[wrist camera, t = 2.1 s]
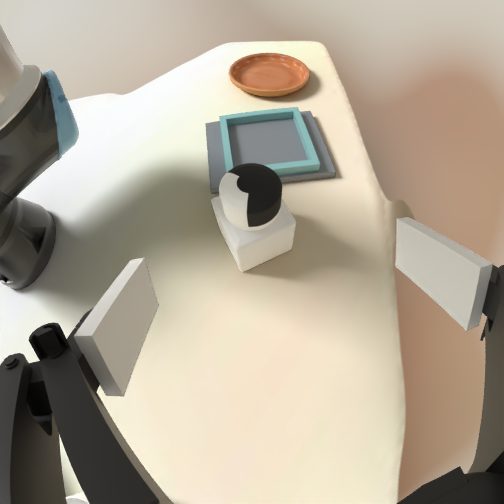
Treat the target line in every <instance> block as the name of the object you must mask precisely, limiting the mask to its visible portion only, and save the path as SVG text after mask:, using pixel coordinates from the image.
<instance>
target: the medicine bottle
mask: <svg viewBox="0 0 504 504" xmlns="http://www.w3.org/2000/svg"><path fill="white" fill-rule="evenodd" d="M219 194H220V195H219V196H217V197H214V198H212V200H211V203H212V206H213V209H214V213H215V216H216V219H217V222H218V226H219V229H220V231H221V233H222V235H223V237H224V239H225V241H226V243H227V245H228V247H229V249H230V251H231V253H232V255H233V257H234V259H235V261H236V263H237V265H238V267H239V269H240V271H241V272H245V271H247V270H249V269H251V268H253V267H255V266H257V265H260V264H262V263H264V262H266V261H268V260H270V259H272V258H274V257H277V256H279V255H281V254H283V253H285V252H287V251H289V250H291V249H292V244H293V239H294V233H295V228H296V220H295V219H294V217H293V216H292V214H291V212H290V211H289V209H288V208H287V206H286V205H285V203H284V201H283V200H282V198H281V197H282V183H281V180H280V178H279V176H278V175H277V173H276V172H275V171H273V170H272V169H271V168H269V167H267V166H265V165H261V164H257V163H246V164H241V165H238V166H236V167H234V168H232V169H231V170H229V171H228V172H227V173H226V174H225V175H224V176H223V178H222V180H221V182H220V185H219Z"/></svg>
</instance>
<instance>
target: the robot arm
mask: <svg viewBox="0 0 504 504" xmlns="http://www.w3.org/2000/svg"><path fill="white" fill-rule="evenodd" d="M78 136H79V130H78V127H77V124H76V121H75V118H74V115H73V113H72V110H71V108H70V105H69V103H68V101H67V99H66V98H65V94H64V92H63V89H62V86H61V84H60V82H59V80H58V78H57V76H56V74H55V72H54V71H52V70H51V71H48V72H44V73H43V74H42V73H41V71H40V69H39V68H38V67H37V66H35V65H22V64H21V62H20V60H19V58H18V57H17V55H16V53H15V51H14V50H13V48H12V46H11V44H10V42H9V41H8V39H7V37H6V35H5V33H4V31H3V30H2V28H1V26H0V282H1V283H3V284H5V285H6V286H8V287H10V288H13V289H21V288H24V287H26V286H28V285H29V284H31V283H32V282H33V281H34V280H35V279H36V278H37V277H38V276H39V275H40V273H41V272H42V271H43V269H44V267H45V266H46V264H47V262H48V260H49V257H50V255H51V252H52V249H53V246H54V241H55V224H54V220H53V218H52V216H51V215H50V213H48V212H47V211H46V210H45V209H44V208H43V207H42V206H40V205H38V204H35V203H33V202H30V201H27V200H24V199H21V198H19V197H16V196H17V195H18V194H19V193H20V192H21V191H22V190H23V189H25V188H26V187H27V186H28V185H29V184H30V183H31V182H32V181H33V180H34V179H36V178H37V177H38V176H39V175H40V174H41V173H42V172H44V171H45V170H46V169H47V168H48V167H50V166H51V165H52V164H53V163H54V162H56V161H57V160H59V159H60V158H61V157H62V155H63V154H64V153H65V152H67V151H68V150H69V149H70V148H71V147H72V146H74V145H75V143H76V141H77V139H78ZM395 266H396V267H397V268H398V269H399V270H400V271H401V272H403V273H404V274H405V275H406V276H407V277H409V278H410V279H411V280H412V281H413V282H414V283H415V284H416V285H418V286H419V287H420V288H421V289H422V290H423V291H424V292H425V293H427V294H428V295H429V296H430V297H431V298H432V299H433V300H434V301H436V303H437V304H439V305H440V306H441V307H442V308H443V309H444V310H445V311H446V312H447V313H448V314H449V315H450V316H451V317H452V318H454V319H455V321H457V322H458V323H459V324H460V325H461V326H462V327H463V328H464V329H465V330H466V331H467V330H470V329H472V328H474V327H476V326H478V325H479V322H480V319H481V315H482V313H484V314H485V315H486V316H487V320H486V323H485V327H484V330H483V333H482V336H481V341H482V340H483V338H484V337H485V339H486V365H485V366H486V367H485V388H484V402H483V411H482V419H481V427H480V433H479V439H478V445H477V450H476V455H475V459H474V462H473V464H472V466H471V468H470V470H469V472H468V473H467V474H464V473H463V471H462V469H461V468H460V467H458V468H456V469H454V470H452V471H450V472H449V473H447V474H445V475H443V476H441V477H439V478H437V479H435V480H433V481H431V482H429V483H426V484H424V485H422V486H421V487H420V488H418V489H417V490H416V491H414V492H413V493H412V494H410V495H409V496H407V497H406V498H404V499H403V500H401V501H400V502H398V503H397V504H504V265H502V266H500V267H499V268H497V267H496V266H494V265H493V264H492V263H491V262H489V261H487V260H486V259H484V258H482V257H481V256H479V255H477V254H476V253H474V252H472V251H471V250H469V249H467V248H465V247H464V246H462V245H460V244H458V243H457V242H455V241H453V240H451V239H449V238H448V237H446V236H444V235H442V234H440V233H438V232H436V231H435V230H433V229H430V228H429V227H427V226H425V225H423V224H421V223H419V222H417V221H415V220H413V219H411V218H409V217H405V218H398V219H397V234H396V262H395ZM158 306H159V304H158V301H157V298H156V295H155V292H154V288H153V285H152V282H151V278H150V275H149V272H148V268H147V265H146V261H145V258H139V259H133V260H130V262H129V263H128V264H127V265H126V267H125V268H124V269H123V270H122V272H121V273H120V274H119V276H118V277H117V278H116V279H115V281H114V282H113V283H112V284H111V286H110V287H109V288H108V290H107V291H106V292H105V294H104V295H103V296H102V298H101V299H100V300H99V302H98V303H97V304H96V306H95V307H94V308H92V309H91V310H90V311H88V312H87V313H86V314H85V315H84V316H83V317H82V319H81V320H80V323H78V324H77V325H76V328H74V330H73V331H72V332H71V334H70V335H69V337H68V338H67V339H66V337H65V335H64V333H63V331H62V329H61V327H60V325H59V324H58V323H48V324H45V325H43V326H41V327H39V328H37V329H36V330H35V331H34V332H33V333H32V334H31V335H30V337H29V342H30V344H31V345H32V347H33V349H34V351H35V353H36V355H37V356H38V358H39V360H40V361H37V362H33V363H28V361H27V360H26V358H25V356H24V355H23V354H20V353H17V354H13V355H10V356H8V358H5V359H4V361H3V362H2V363H1V365H0V504H67V501H66V495H65V489H64V482H63V475H62V466H61V456H60V444H59V434H60V437H61V440H62V443H63V445H64V448H65V451H66V453H67V456H68V458H69V461H70V463H71V466H72V468H73V470H74V473H75V475H76V477H77V479H78V481H79V484H80V486H81V488H82V490H83V492H84V494H85V496H86V498H87V500H88V502H89V504H173V503H172V502H171V500H170V499H169V498H168V497H167V496H166V494H165V493H164V492H163V491H162V490H161V488H160V487H159V486H158V485H157V483H156V482H155V481H154V480H153V478H152V477H151V476H150V474H149V473H148V472H147V470H146V469H145V468H144V466H143V465H142V464H141V462H140V461H139V459H138V458H137V457H136V455H135V454H134V452H133V451H132V449H131V448H130V446H129V445H128V444H127V442H126V440H125V439H124V437H123V436H122V434H121V433H120V431H119V430H118V428H117V426H116V425H115V423H114V421H113V420H112V418H111V416H110V415H109V413H108V411H107V409H106V408H105V406H104V404H103V402H102V401H101V399H100V397H99V396H98V394H97V389H98V387H99V385H100V386H101V388H102V389H103V391H104V393H105V394H106V396H124V394H125V392H126V389H127V386H128V383H129V380H130V378H131V375H132V372H133V369H134V367H135V364H136V361H137V359H138V356H139V353H140V351H141V348H142V346H143V343H144V341H145V338H146V335H147V333H148V330H149V328H150V325H151V323H152V320H153V318H154V316H155V313H156V311H157V308H158Z"/></svg>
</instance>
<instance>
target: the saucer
mask: <svg viewBox="0 0 504 504" xmlns="http://www.w3.org/2000/svg"><path fill="white" fill-rule="evenodd" d="M309 76H310V72H309V69H308V67H307V66H306V65H305V64H304V63H303V62H301V61H300V60H298V59H296V58H294V57H291V56H288V55H284V54H278V53H259V54H253V55H249V56H245V57H243V58H241V59H239V60H237V61H235V62H234V63H233V64H232V65H231V67H230V69H229V77H230V80H231V81H232V83H233V84H234V85H235V86H237V87H238V88H240V89H241V90H243V91H246V92H248V93H250V94H253V95H257V96H263V97H277V96H283V95H287V94H290V93H293V92H295V91H297V90H299V89H301V88H302V87H303V86H305V85H306V83H307V82H308V80H309Z"/></svg>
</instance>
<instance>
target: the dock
mask: <svg viewBox="0 0 504 504" xmlns="http://www.w3.org/2000/svg"><path fill="white" fill-rule="evenodd" d="M219 117H220V121H217V122H211V123H206V136H207V149H208V162H209V174H210V186H211V191H212V193H217V192H219V185H220V182H221V180H222V178H223V176H224V175H225V174H226V173H227V172H228V171H229V170H231V169H232V168H234V167H236V166H238V165H241V164H246V163H257V164H261V165H265V166H267V167H269V168H271V169H272V170H273V171H275V172H276V173H277V175H278V176H279V178H280V180H281V183H286V182H294V181H302V180H311V179H320V178H329V177H335V173H336V171H335V168H334V166H333V163H332V161H331V158H330V156H329V153H328V151H327V148H326V146H325V143H324V141H323V139H322V136H321V134H320V132H319V129H318V127H317V125H316V122H315V120H314V118H313V116H312V113H311V111H305V112H300V111H299V109H298V107H295V108H282V109H272V110H262V111H254V112H246V113H238V114H231V115H225V116H219Z"/></svg>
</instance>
